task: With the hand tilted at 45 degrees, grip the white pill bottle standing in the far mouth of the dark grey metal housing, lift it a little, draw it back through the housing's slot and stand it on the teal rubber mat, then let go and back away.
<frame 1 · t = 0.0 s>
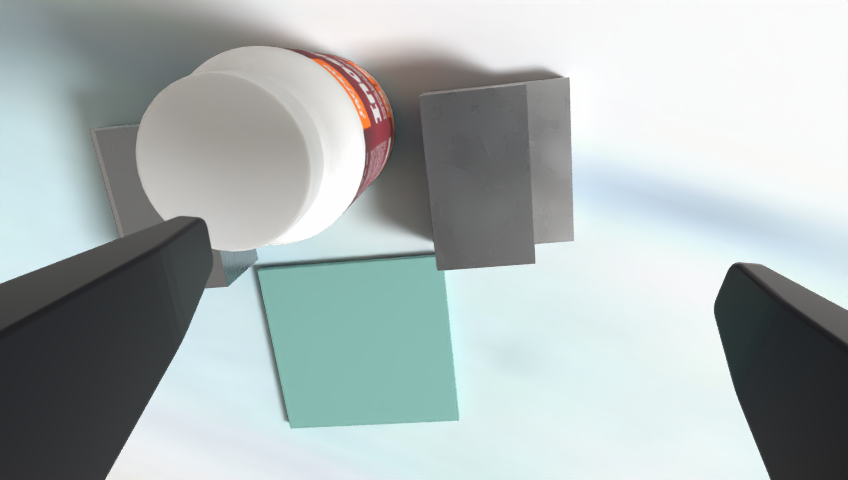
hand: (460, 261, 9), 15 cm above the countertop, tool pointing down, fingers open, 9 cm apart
mat: (362, 344, 27), on the countertop
housing: (336, 180, 25), on the countertop
pill bottle: (329, 125, 24), on the countertop
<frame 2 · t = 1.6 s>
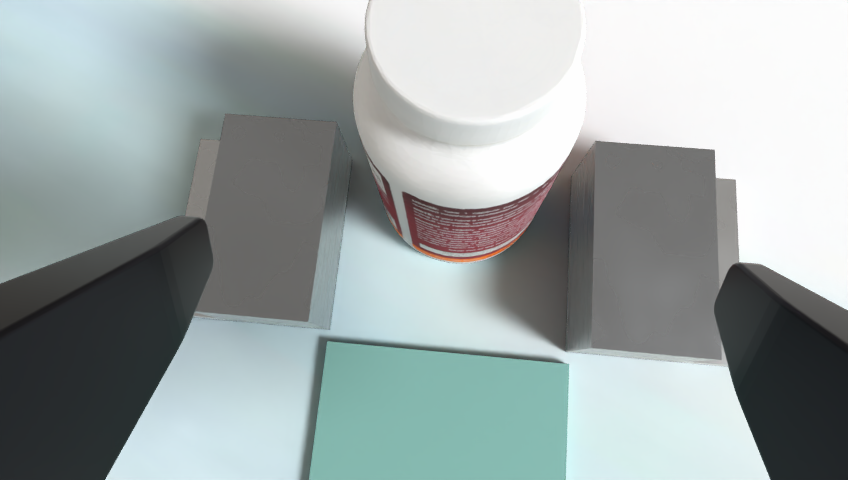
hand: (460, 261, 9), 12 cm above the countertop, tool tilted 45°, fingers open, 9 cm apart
housing: (453, 251, 21), on the countertop
pill bottle: (458, 193, 22), on the countertop
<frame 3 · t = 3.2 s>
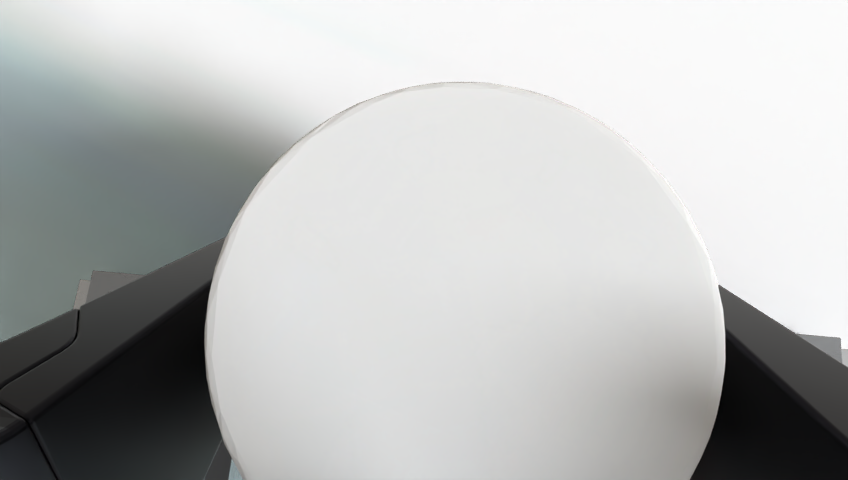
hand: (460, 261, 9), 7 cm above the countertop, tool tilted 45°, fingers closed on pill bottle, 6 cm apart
housing: (440, 443, 15), on the countertop
pill bottle: (448, 352, 16), on the countertop, touching gripper
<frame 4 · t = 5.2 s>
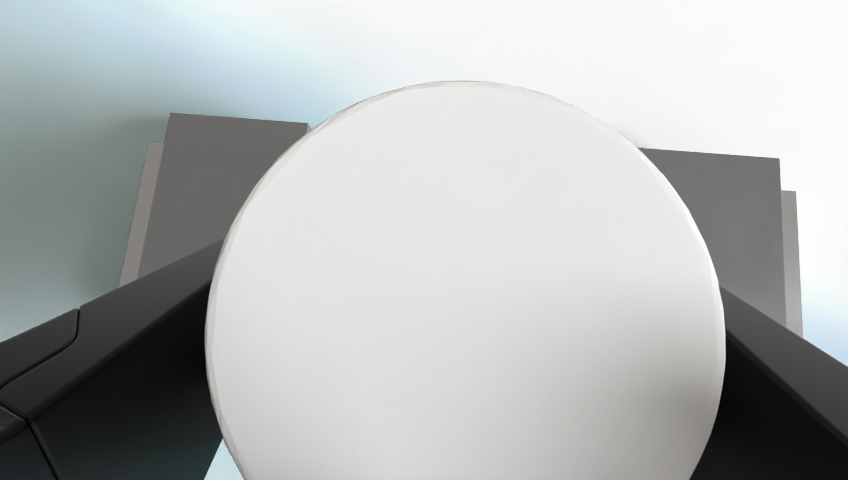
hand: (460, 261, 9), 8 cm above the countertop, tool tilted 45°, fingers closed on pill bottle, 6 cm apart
housing: (453, 276, 18), on the countertop
pill bottle: (448, 351, 16), point 2 cm above the countertop, touching gripper
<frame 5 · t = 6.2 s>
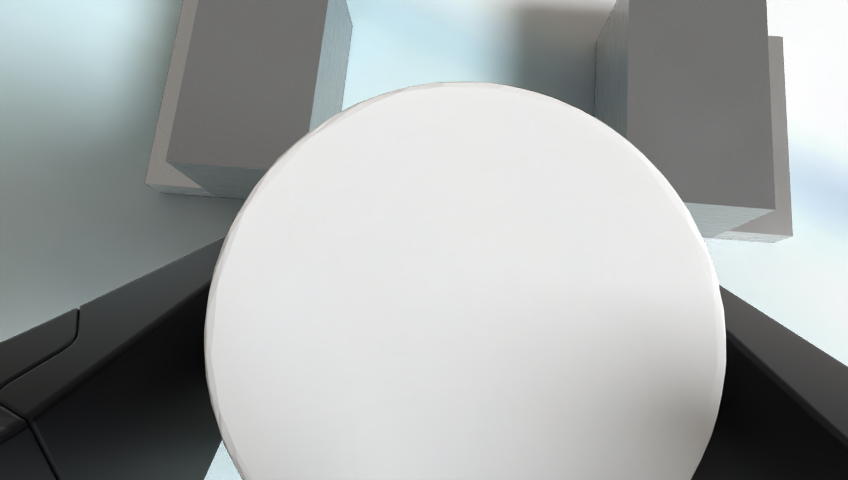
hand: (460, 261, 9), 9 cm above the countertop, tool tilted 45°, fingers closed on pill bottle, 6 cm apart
housing: (465, 121, 19), on the countertop
pill bottle: (448, 351, 16), point 2 cm above the countertop, touching gripper
when the fingers open (8 cm above the countertop, at t = 7.1 s): pill bottle stays where it is, resting on mat.
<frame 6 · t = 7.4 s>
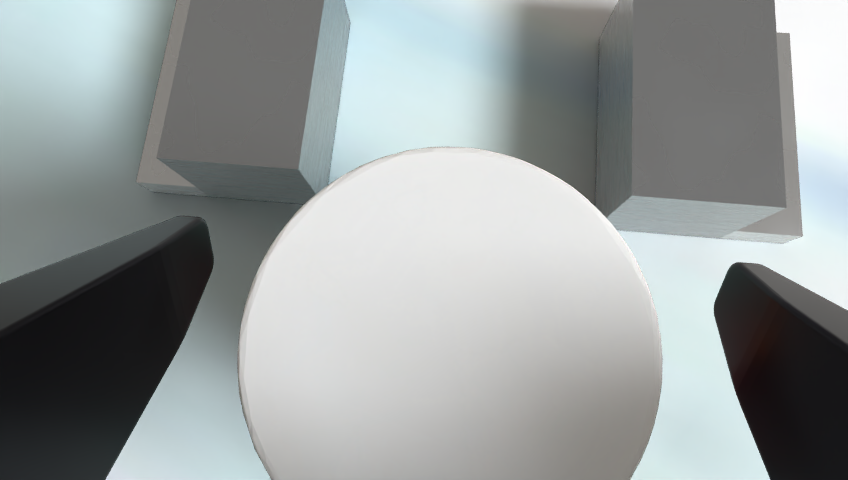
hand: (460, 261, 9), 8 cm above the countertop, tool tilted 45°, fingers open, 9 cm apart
housing: (466, 120, 19), on the countertop
pill bottle: (444, 359, 17), resting on mat
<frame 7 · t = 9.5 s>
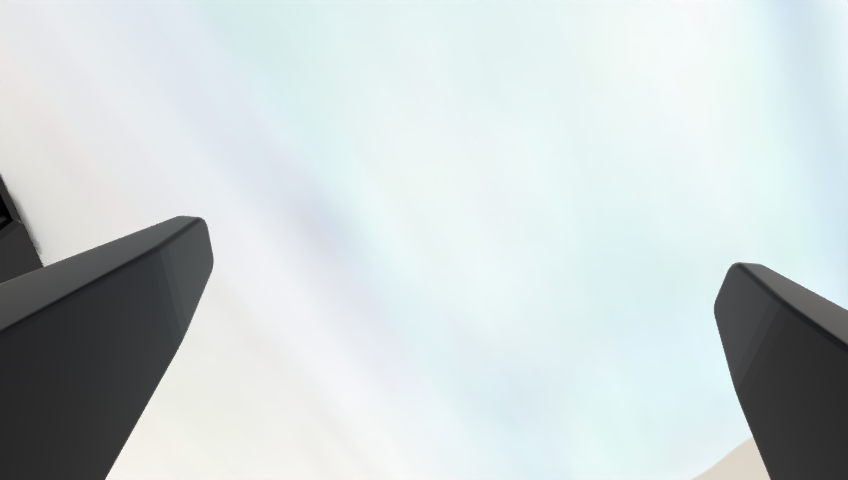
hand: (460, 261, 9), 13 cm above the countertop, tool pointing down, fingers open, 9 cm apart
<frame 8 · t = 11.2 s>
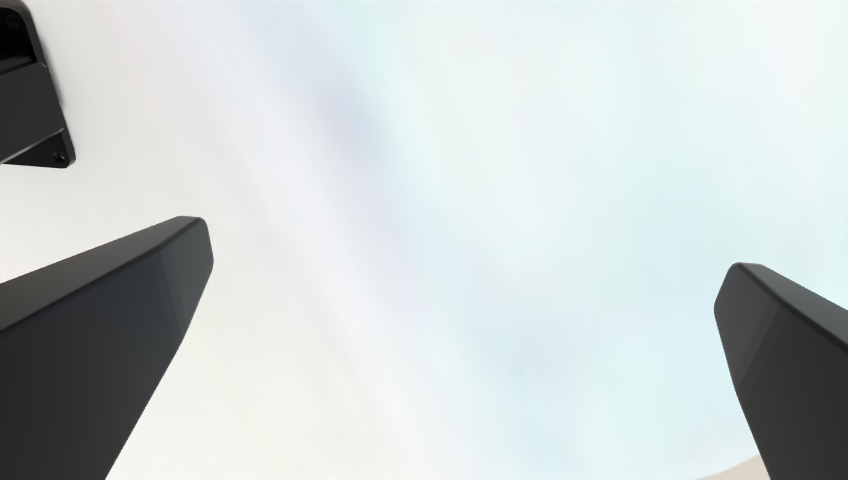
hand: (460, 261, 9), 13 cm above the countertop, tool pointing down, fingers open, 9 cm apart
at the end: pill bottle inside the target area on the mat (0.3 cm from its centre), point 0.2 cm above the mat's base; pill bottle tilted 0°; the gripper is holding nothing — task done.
